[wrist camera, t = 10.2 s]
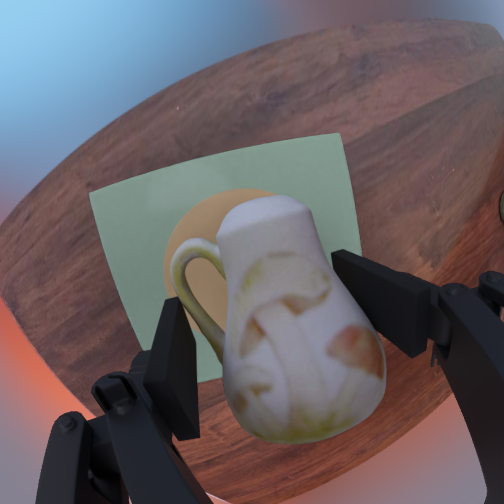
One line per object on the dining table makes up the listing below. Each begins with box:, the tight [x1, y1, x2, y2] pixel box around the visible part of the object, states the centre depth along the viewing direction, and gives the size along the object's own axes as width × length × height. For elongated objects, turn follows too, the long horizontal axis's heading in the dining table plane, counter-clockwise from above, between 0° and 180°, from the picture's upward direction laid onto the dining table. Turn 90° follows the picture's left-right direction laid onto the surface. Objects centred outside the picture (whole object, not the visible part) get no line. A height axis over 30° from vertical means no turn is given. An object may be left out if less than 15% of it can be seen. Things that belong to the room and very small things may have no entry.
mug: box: [170, 195, 386, 444], centre depth 11 cm, size 8×10×10 cm
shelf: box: [89, 133, 362, 383], centre depth 22 cm, size 16×18×7 cm
